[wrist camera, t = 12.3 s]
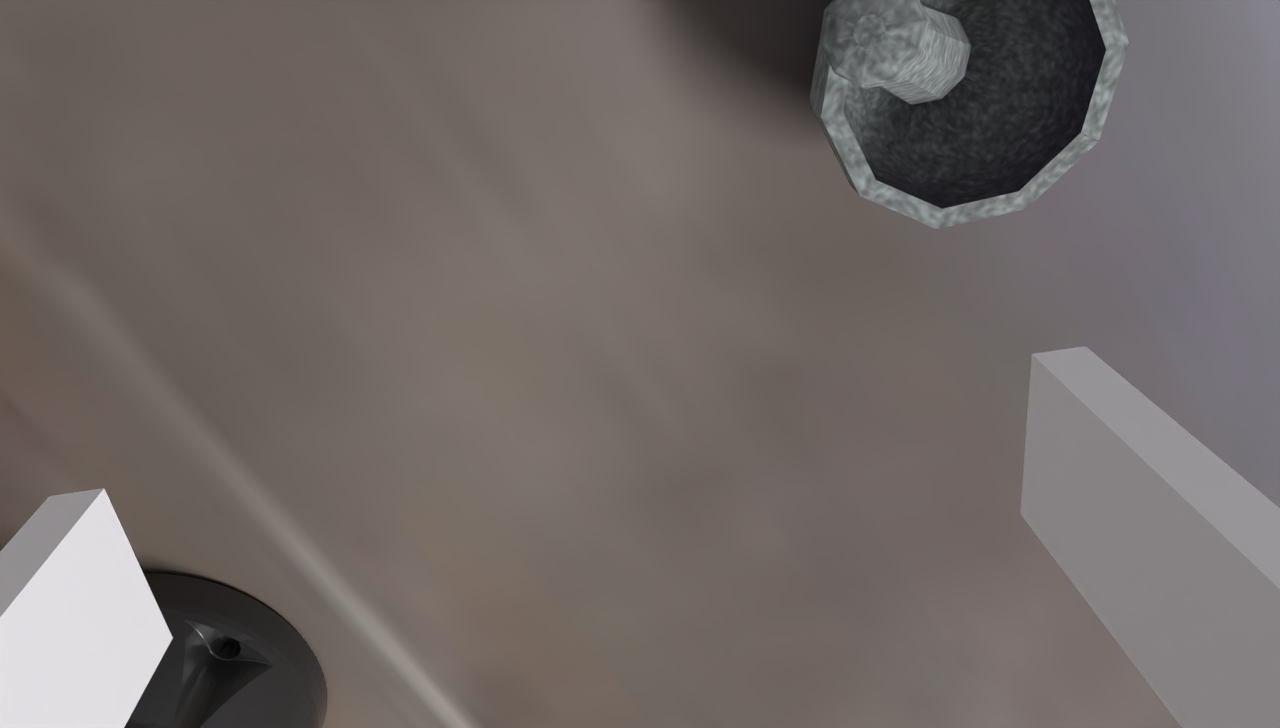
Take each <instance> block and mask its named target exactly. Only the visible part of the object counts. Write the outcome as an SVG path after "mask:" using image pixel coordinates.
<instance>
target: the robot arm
mask: <svg viewBox="0 0 1280 728" xmlns="http://www.w3.org/2000/svg"><path fill="white" fill-rule="evenodd" d="M1021 515H1022V517H1023V518H1024V519H1025V521H1026V522H1027V523H1028V525H1029V526H1030V527H1031V529H1032V530H1033V531H1034V533H1035V534H1036V535H1037V537H1038V538H1039V539H1040V541H1041V542H1042V543H1043V544H1044V546H1045V547H1046V548H1047V550H1048V551H1049V552H1050V554H1051V555H1052V556H1053V558H1054V559H1055V560H1056V562H1057V563H1058V564H1059V566H1060V567H1061V568H1062V570H1063V571H1064V572H1065V574H1066V575H1067V576H1068V578H1069V579H1070V580H1071V582H1072V583H1073V584H1074V586H1075V587H1076V588H1077V589H1078V591H1079V592H1080V593H1081V595H1082V596H1083V597H1084V599H1085V600H1086V601H1087V603H1088V604H1089V605H1090V607H1091V608H1092V609H1093V611H1094V612H1095V613H1096V615H1097V616H1098V617H1099V619H1100V620H1101V621H1102V623H1103V624H1104V625H1105V627H1106V628H1107V629H1108V631H1109V632H1110V633H1111V635H1112V636H1113V637H1114V638H1115V640H1116V641H1117V642H1118V644H1119V645H1120V646H1121V648H1122V649H1123V650H1124V652H1125V653H1126V654H1127V656H1128V657H1129V658H1130V660H1131V661H1132V662H1133V664H1134V665H1135V666H1136V668H1137V669H1138V670H1139V672H1140V673H1141V674H1142V676H1143V677H1144V678H1145V680H1146V681H1147V682H1148V683H1149V685H1150V686H1151V687H1152V689H1153V690H1154V691H1155V693H1156V694H1157V695H1158V697H1159V698H1160V699H1161V701H1162V702H1163V703H1164V705H1165V706H1166V707H1167V709H1168V710H1169V711H1170V713H1171V714H1172V715H1173V717H1174V718H1175V719H1176V721H1177V722H1178V723H1179V725H1180V726H1181V727H1182V728H1280V508H1279V507H1277V506H1276V505H1275V504H1274V503H1273V502H1271V501H1270V500H1269V499H1268V498H1267V497H1265V496H1264V495H1263V494H1262V493H1261V492H1259V491H1258V490H1257V489H1256V488H1255V487H1253V486H1252V485H1251V484H1250V483H1249V482H1247V481H1246V480H1245V479H1244V478H1243V477H1241V476H1240V475H1239V474H1238V473H1237V472H1235V471H1234V470H1233V469H1232V468H1231V467H1229V466H1228V465H1227V464H1226V463H1225V462H1223V461H1222V460H1221V459H1220V458H1219V457H1217V456H1216V455H1215V454H1214V453H1213V452H1211V451H1210V450H1209V449H1208V448H1207V447H1205V446H1204V445H1203V444H1202V443H1201V442H1199V441H1198V440H1197V439H1196V438H1195V437H1193V436H1192V435H1191V434H1190V433H1189V432H1187V431H1186V430H1185V429H1184V428H1183V427H1181V426H1180V425H1179V424H1178V423H1177V422H1175V421H1174V420H1173V419H1172V418H1171V417H1169V416H1168V415H1167V414H1166V413H1165V412H1164V411H1162V410H1161V409H1160V408H1159V407H1158V406H1156V405H1155V404H1154V403H1153V402H1152V401H1150V400H1149V399H1148V398H1147V397H1146V396H1144V395H1143V394H1142V393H1141V392H1140V391H1138V390H1137V389H1136V388H1135V387H1134V386H1132V385H1131V384H1130V383H1129V382H1128V381H1126V380H1125V379H1124V378H1123V377H1122V376H1120V375H1119V374H1118V373H1117V372H1116V371H1114V370H1113V369H1112V368H1111V367H1110V366H1108V365H1107V364H1106V363H1105V362H1104V361H1102V360H1101V359H1100V358H1099V357H1098V356H1096V355H1095V354H1094V353H1093V352H1092V351H1090V350H1089V349H1088V348H1087V347H1086V346H1084V347H1078V348H1071V349H1064V350H1057V351H1050V352H1043V353H1036V354H1032V359H1031V373H1030V387H1029V401H1028V415H1027V429H1026V443H1025V457H1024V472H1023V486H1022V500H1021ZM326 709H327V688H326V682H325V678H324V675H323V672H322V669H321V666H320V664H319V662H318V660H317V658H316V656H315V655H314V653H313V651H312V650H311V648H310V647H309V646H308V644H307V643H306V642H305V640H304V639H303V638H302V637H301V635H300V634H299V633H298V632H297V631H296V630H295V629H294V628H293V627H292V626H291V625H290V624H288V623H287V622H286V621H285V620H284V619H283V618H281V617H280V616H279V615H278V614H276V613H275V612H273V611H272V610H271V609H269V608H268V607H266V606H264V605H263V604H261V603H259V602H258V601H256V600H254V599H252V598H250V597H248V596H246V595H244V594H242V593H240V592H238V591H235V590H233V589H230V588H228V587H225V586H222V585H219V584H216V583H213V582H209V581H205V580H201V579H197V578H192V577H187V576H180V575H172V574H159V573H143V572H142V570H141V568H140V565H139V563H138V561H137V559H136V557H135V555H134V552H133V550H132V548H131V546H130V544H129V541H128V539H127V537H126V535H125V533H124V531H123V528H122V526H121V524H120V522H119V520H118V518H117V515H116V513H115V511H114V509H113V507H112V504H111V502H110V500H109V498H108V496H107V494H106V491H105V489H104V488H103V489H96V490H89V491H82V492H76V493H69V494H62V495H55V496H49V497H48V498H47V500H46V501H45V502H44V503H43V504H42V505H41V506H40V508H39V509H38V510H37V511H36V512H35V513H34V514H33V515H32V517H31V518H30V519H29V520H28V521H27V522H26V523H25V524H24V526H23V527H22V528H21V529H20V530H19V531H18V532H17V533H16V535H15V536H14V537H13V538H12V539H11V540H10V541H9V542H8V544H7V545H6V546H5V547H4V548H3V549H2V550H1V551H0V728H322V725H323V722H324V719H325V715H326Z"/></svg>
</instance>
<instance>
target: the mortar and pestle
mask: <svg viewBox="0 0 1280 728" xmlns="http://www.w3.org/2000/svg"><path fill="white" fill-rule="evenodd" d="M1128 46H1129V42H1128V39H1127V36H1126V33H1125V30H1124V27H1123V24H1122V21H1121V18H1120V15H1119V12H1118V9H1117V6H1116V3H1115V0H833V1H832V2H831V3H830V4H829V5H828V7H827V8H826V9H825V10H824V16H823V22H822V28H821V34H820V39H819V45H818V51H817V57H816V63H815V69H814V75H813V80H812V86H811V92H810V102H811V106H812V110H813V112H814V114H815V116H816V118H817V120H818V122H819V124H820V126H821V128H822V130H823V132H824V134H825V136H826V138H827V140H828V142H829V144H830V146H831V148H832V150H833V152H834V154H835V156H836V158H837V160H838V162H839V164H840V166H841V168H842V170H843V172H844V174H845V176H846V178H847V180H848V182H849V184H850V185H851V187H852V188H853V189H854V190H855V191H856V192H857V193H858V194H859V195H860V196H862V197H864V198H866V199H868V200H871V201H873V202H875V203H878V204H880V205H882V206H885V207H887V208H889V209H892V210H894V211H896V212H899V213H901V214H903V215H906V216H908V217H910V218H913V219H915V220H917V221H919V222H922V223H924V224H926V225H929V226H931V227H933V228H936V229H940V228H944V227H948V226H953V225H957V224H962V223H966V222H970V221H975V220H979V219H984V218H988V217H992V216H997V215H1001V214H1006V213H1010V212H1014V211H1019V210H1023V209H1026V208H1027V207H1029V206H1030V205H1031V204H1032V203H1033V202H1034V201H1035V200H1036V199H1037V198H1038V197H1039V196H1040V195H1041V194H1042V193H1043V192H1045V191H1046V190H1047V189H1048V188H1049V187H1050V186H1051V185H1052V184H1053V183H1054V182H1055V181H1056V180H1057V179H1058V178H1060V177H1061V176H1062V175H1063V174H1064V173H1065V172H1066V171H1067V170H1068V169H1069V168H1070V167H1071V166H1072V165H1073V164H1075V163H1076V162H1077V161H1078V160H1079V159H1080V158H1081V157H1082V156H1083V155H1084V154H1085V153H1086V152H1087V151H1088V150H1090V149H1091V148H1092V147H1093V146H1094V145H1095V144H1096V143H1097V142H1098V141H1099V139H1100V135H1101V132H1102V129H1103V126H1104V123H1105V120H1106V116H1107V113H1108V110H1109V107H1110V104H1111V100H1112V97H1113V94H1114V91H1115V88H1116V85H1117V81H1118V78H1119V75H1120V72H1121V69H1122V65H1123V62H1124V59H1125V56H1126V53H1127V49H1128Z"/></svg>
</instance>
